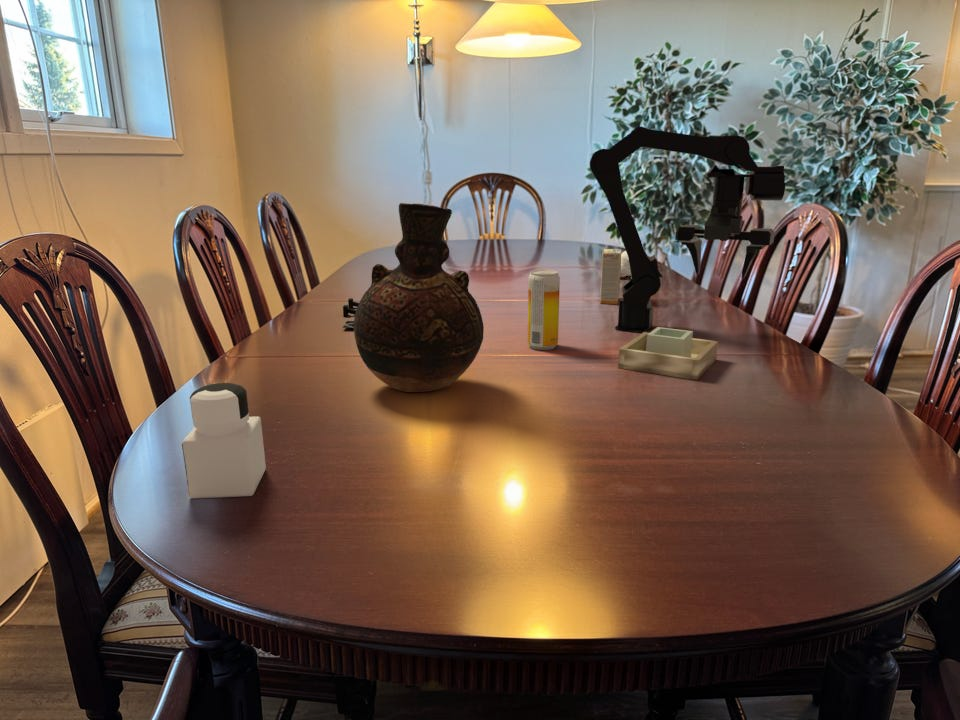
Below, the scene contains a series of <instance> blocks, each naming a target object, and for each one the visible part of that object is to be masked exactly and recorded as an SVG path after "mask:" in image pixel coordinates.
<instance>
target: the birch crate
mask: <svg viewBox="0 0 960 720" xmlns="http://www.w3.org/2000/svg"><path fill="white" fill-rule="evenodd" d="M649 333H650V332H647V331H645V332H641V333H640V334H639V335H638V336H636V337H635V338H633V339H632V340H630V341H629V342H627V343H626V344H625V345H623V346H622V347H620V348H619V349H618V366H617V367H618V368H619V369H622V370H629V371H636V372H643V373H648V374H649V373H650V374H654V375H661V376H662V375H663V376H668V377H674V378H680V379H687V380H695V381H698V380H699V379H700V378H701V377H702V375H704V373H706V372H707V370H708V369H709V368H710V367H711V366H712V365H713V364H714V362H715V361H716V360H717V356H718V355H717V353H718V344H719V343H718V342H719V341H718V340H717V341H715V340H711V339H710V340H709V339H703V338H694V337H692V348H691V358H689V357H682V356H675V355H668V354H661V353H654V352H647V351H646V343H647V334H649Z"/></svg>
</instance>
